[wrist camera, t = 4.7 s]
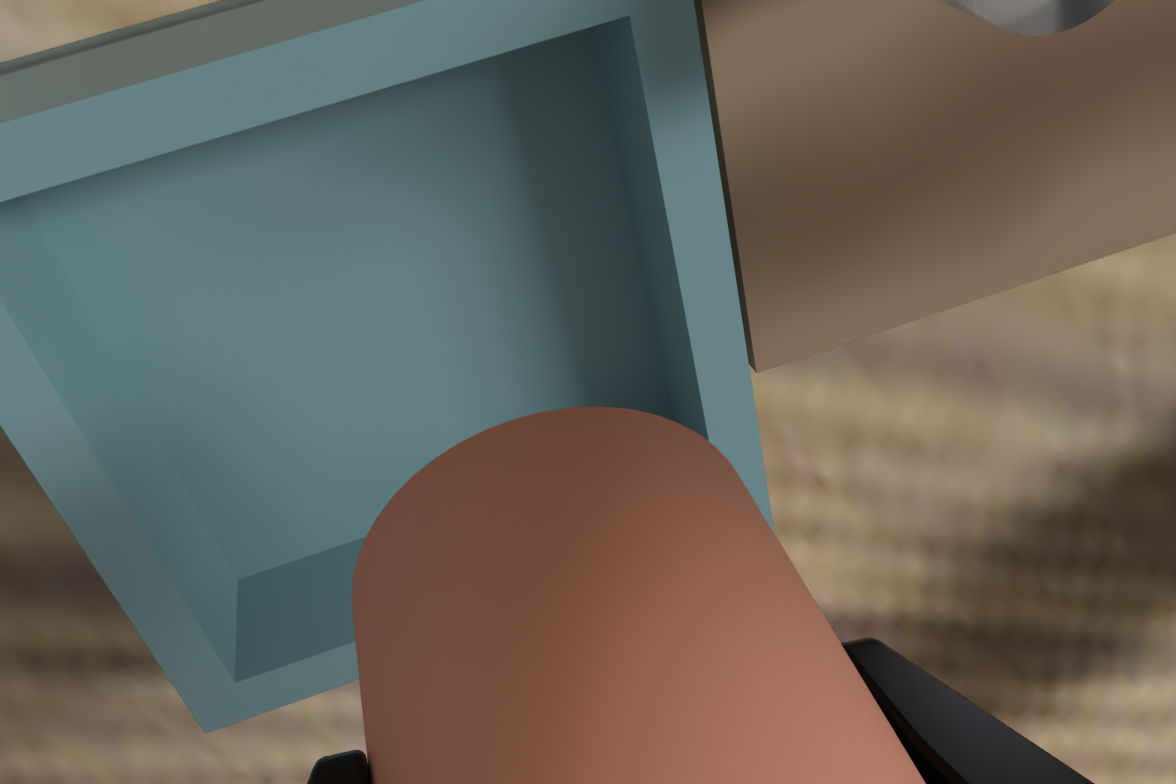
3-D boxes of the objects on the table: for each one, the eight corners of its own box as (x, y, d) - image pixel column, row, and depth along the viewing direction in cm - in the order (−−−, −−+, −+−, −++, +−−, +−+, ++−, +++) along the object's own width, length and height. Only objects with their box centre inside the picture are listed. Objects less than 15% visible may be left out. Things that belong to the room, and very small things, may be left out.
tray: (707, 429, 25) (774, 534, 22) (212, 595, 24) (204, 733, 21) (607, -110, 18) (682, -75, 15) (-86, 87, 17) (-168, 172, 14)
